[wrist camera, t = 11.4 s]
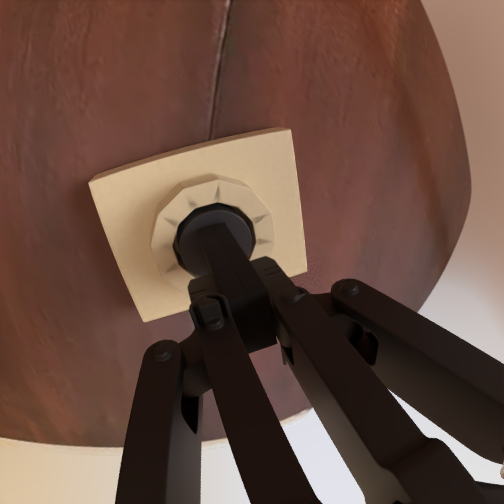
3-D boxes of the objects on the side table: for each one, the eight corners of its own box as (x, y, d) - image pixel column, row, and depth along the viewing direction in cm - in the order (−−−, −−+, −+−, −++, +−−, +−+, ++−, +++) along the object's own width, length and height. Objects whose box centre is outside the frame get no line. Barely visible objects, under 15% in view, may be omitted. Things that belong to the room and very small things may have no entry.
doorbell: (277, 126, 19) (304, 131, 16) (295, 258, 24) (319, 284, 20) (94, 174, 17) (80, 190, 13) (143, 304, 22) (144, 340, 18)
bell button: (236, 193, 17) (245, 201, 16) (248, 253, 19) (257, 266, 18) (168, 212, 17) (170, 222, 15) (187, 272, 19) (190, 287, 17)
